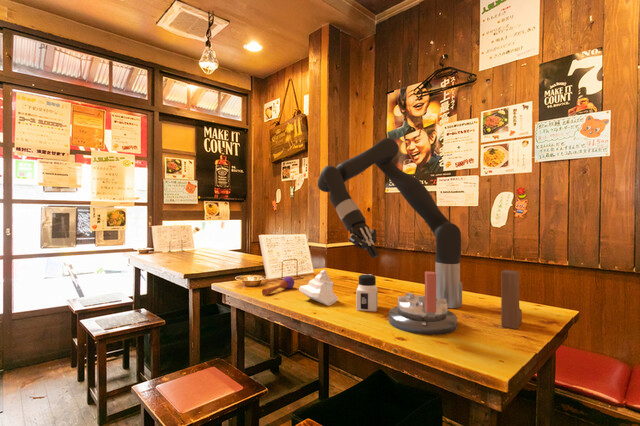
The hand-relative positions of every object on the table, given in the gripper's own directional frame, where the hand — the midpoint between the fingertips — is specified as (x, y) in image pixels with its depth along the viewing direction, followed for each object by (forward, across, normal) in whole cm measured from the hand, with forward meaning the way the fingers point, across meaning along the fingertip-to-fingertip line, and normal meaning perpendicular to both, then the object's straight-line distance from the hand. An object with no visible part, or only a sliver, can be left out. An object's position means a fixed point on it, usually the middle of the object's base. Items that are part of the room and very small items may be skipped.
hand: (375, 256), depth 111 cm
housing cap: (+25, -10, -6) cm, 28 cm away
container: (+11, -9, -26) cm, 29 cm away
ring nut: (+24, -6, -2) cm, 25 cm away
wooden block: (+39, -31, +9) cm, 51 cm away
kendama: (-16, +2, -62) cm, 64 cm away
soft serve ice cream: (-1, -1, -41) cm, 41 cm away
